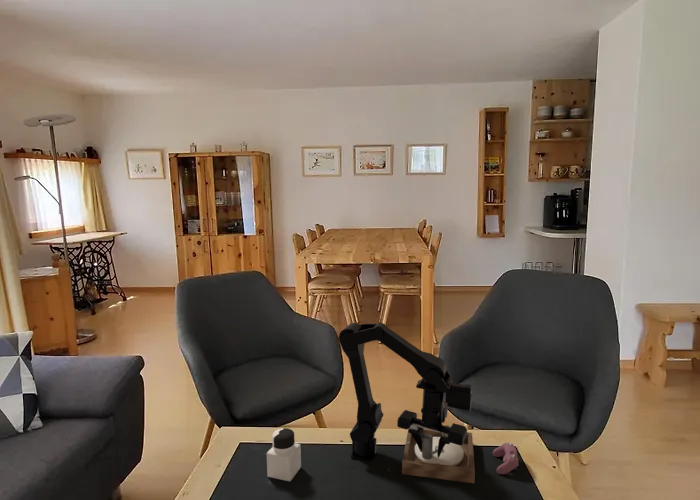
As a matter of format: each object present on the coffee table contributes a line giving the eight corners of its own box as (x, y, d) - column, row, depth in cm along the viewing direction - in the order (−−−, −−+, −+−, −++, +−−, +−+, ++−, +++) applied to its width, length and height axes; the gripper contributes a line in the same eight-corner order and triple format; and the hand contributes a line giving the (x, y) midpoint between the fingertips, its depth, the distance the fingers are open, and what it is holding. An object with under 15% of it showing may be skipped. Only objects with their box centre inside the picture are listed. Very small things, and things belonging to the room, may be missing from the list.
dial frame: (402, 473, 125) (402, 461, 125) (408, 436, 144) (408, 425, 143) (474, 483, 121) (474, 470, 120) (471, 443, 140) (472, 432, 139)
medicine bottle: (301, 466, 129) (300, 427, 127) (290, 482, 122) (289, 441, 121) (279, 462, 131) (277, 423, 130) (267, 477, 125) (265, 436, 123)
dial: (436, 435, 142) (437, 413, 141) (473, 456, 131) (474, 432, 130) (404, 451, 134) (404, 428, 133) (441, 475, 123) (441, 450, 122)
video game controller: (510, 482, 124) (523, 462, 122) (495, 473, 124) (508, 453, 123) (505, 460, 133) (517, 441, 132) (490, 452, 134) (502, 434, 132)
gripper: (473, 398, 129) (469, 448, 131) (411, 383, 137) (409, 430, 140) (463, 417, 119) (460, 470, 122) (397, 400, 127) (395, 449, 130)
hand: (430, 453), depth 129 cm, fingers open, 5 cm apart
